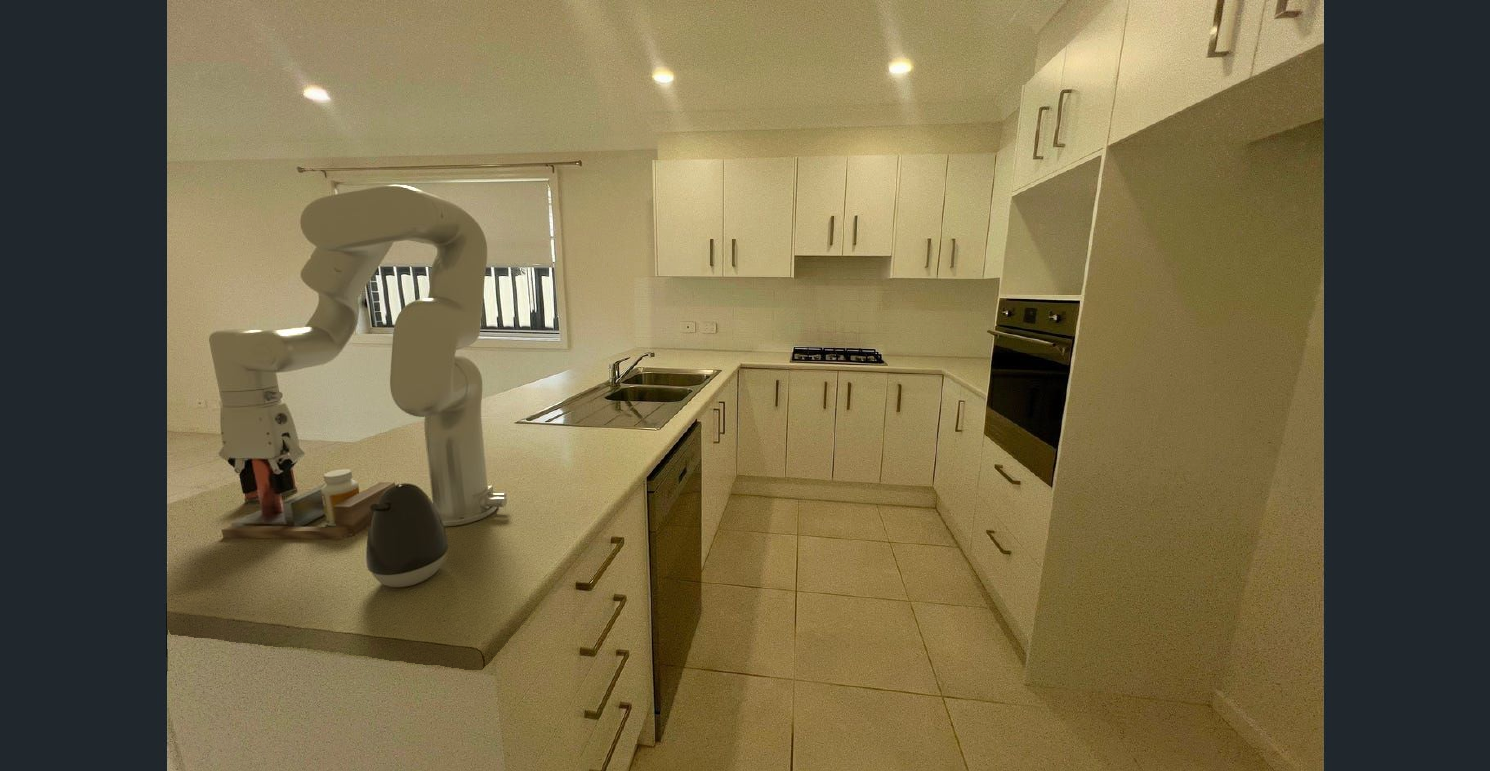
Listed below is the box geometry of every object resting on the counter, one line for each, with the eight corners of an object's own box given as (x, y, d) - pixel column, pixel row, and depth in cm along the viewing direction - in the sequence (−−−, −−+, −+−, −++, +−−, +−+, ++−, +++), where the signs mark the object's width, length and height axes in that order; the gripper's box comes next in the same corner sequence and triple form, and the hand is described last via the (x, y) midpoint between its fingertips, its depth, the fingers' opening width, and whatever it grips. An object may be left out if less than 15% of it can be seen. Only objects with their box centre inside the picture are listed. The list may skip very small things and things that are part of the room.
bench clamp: (403, 504, 98) (400, 479, 97) (347, 539, 84) (342, 510, 83) (296, 503, 98) (292, 478, 97) (223, 537, 84) (217, 508, 83)
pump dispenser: (350, 596, 68) (335, 498, 65) (405, 557, 78) (393, 470, 76) (419, 600, 68) (406, 501, 65) (464, 560, 78) (455, 473, 75)
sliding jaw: (337, 507, 95) (327, 445, 93) (295, 529, 86) (282, 461, 84) (279, 507, 95) (268, 444, 93) (232, 529, 86) (217, 460, 84)
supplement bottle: (370, 514, 93) (363, 468, 91) (345, 528, 88) (337, 478, 86) (345, 513, 94) (338, 466, 92) (318, 526, 88) (310, 477, 87)
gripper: (316, 394, 90) (331, 484, 93) (226, 392, 90) (244, 482, 93) (278, 403, 83) (295, 500, 86) (180, 401, 82) (201, 498, 86)
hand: (268, 490), depth 90 cm, fingers open, 5 cm apart
